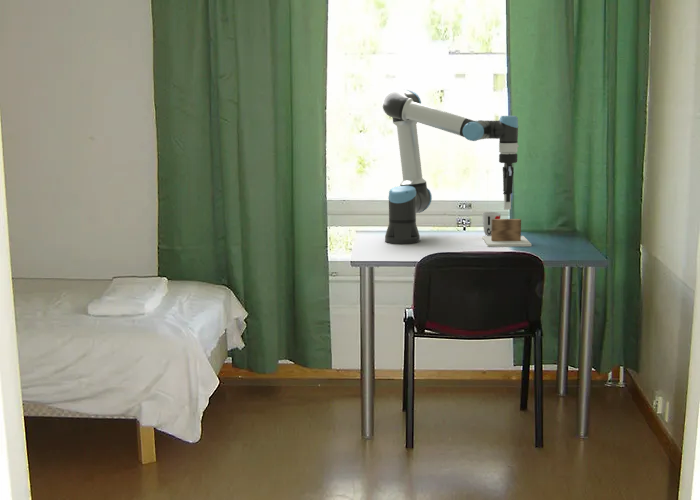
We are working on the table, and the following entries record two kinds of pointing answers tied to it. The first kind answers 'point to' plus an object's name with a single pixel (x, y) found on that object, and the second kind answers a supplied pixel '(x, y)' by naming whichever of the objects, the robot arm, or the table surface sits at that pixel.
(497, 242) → the mat
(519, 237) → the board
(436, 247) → the table surface
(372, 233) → the table surface
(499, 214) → the cup
